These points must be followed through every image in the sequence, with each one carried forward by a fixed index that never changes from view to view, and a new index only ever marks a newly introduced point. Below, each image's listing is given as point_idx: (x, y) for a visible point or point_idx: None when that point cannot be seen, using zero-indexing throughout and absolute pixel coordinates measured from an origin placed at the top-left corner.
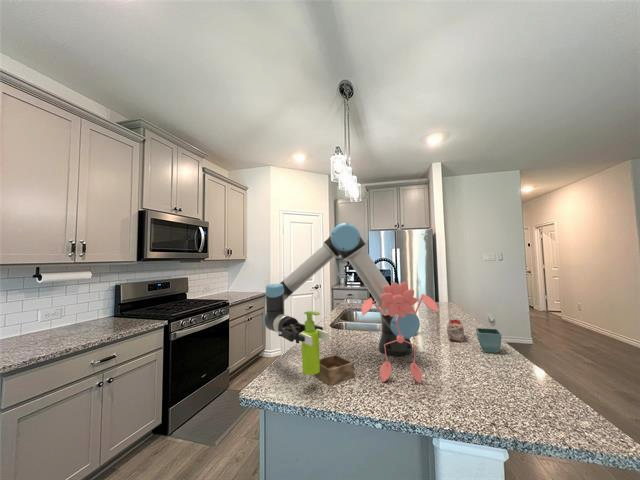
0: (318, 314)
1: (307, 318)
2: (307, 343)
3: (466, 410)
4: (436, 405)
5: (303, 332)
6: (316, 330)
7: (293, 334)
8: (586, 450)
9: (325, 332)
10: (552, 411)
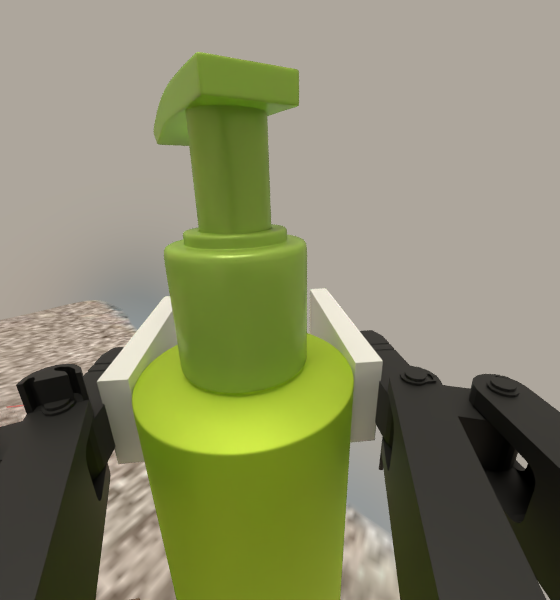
0: (174, 141)
1: (269, 186)
2: None
3: (80, 357)
4: None
5: (329, 367)
6: (147, 372)
7: (470, 393)
8: (111, 307)
9: None
10: (23, 327)
